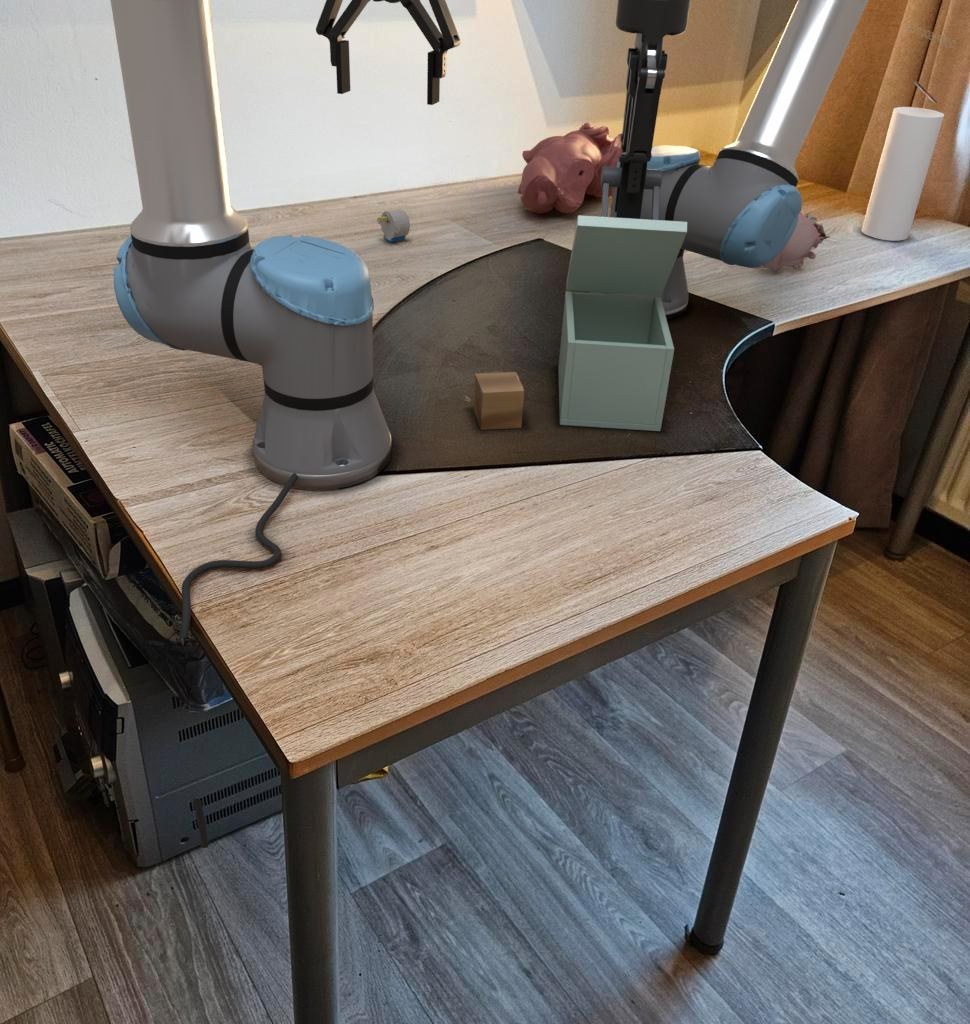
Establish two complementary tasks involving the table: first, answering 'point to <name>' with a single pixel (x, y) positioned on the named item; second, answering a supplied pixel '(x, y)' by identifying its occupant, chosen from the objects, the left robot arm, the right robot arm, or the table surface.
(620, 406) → the chest
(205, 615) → the table surface
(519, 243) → the table surface
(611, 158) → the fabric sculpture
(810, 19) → the right robot arm
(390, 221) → the electric motor
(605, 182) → the lid
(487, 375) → the block
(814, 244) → the toy
